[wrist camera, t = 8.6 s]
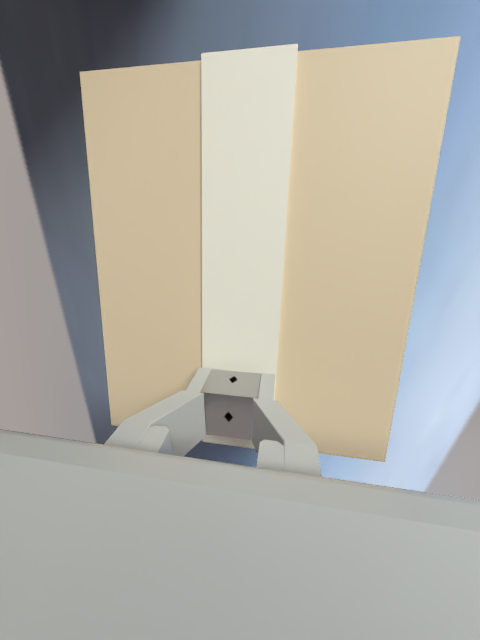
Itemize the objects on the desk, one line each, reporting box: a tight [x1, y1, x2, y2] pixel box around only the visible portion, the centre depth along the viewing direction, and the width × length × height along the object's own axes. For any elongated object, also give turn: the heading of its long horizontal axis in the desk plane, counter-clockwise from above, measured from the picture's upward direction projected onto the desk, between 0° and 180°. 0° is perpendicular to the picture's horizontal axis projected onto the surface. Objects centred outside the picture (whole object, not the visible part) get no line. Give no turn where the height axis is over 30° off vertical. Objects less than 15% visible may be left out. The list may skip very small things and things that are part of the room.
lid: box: [80, 36, 461, 462], centre depth 10 cm, size 14×12×1 cm
